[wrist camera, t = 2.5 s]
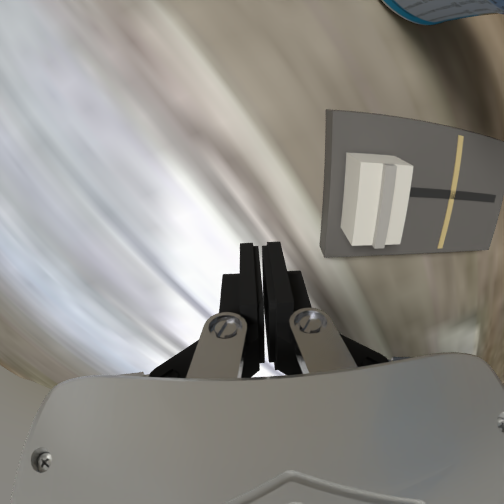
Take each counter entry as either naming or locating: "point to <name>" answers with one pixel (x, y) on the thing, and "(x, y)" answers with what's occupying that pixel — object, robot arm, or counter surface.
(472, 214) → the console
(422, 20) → the blue lidded canister
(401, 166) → the fader knob
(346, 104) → the counter surface
